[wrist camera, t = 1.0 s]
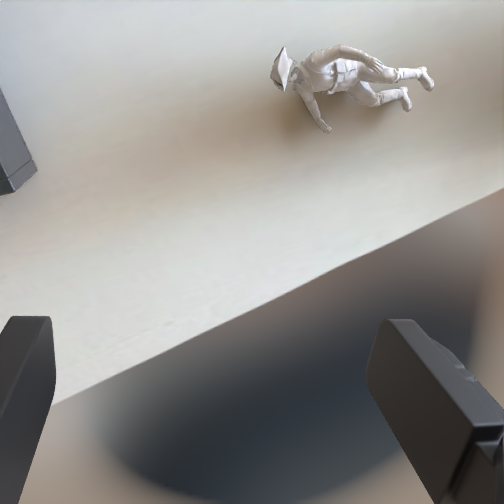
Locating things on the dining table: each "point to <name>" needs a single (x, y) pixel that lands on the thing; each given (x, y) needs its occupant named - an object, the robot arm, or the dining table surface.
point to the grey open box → (12, 153)
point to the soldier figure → (345, 78)
